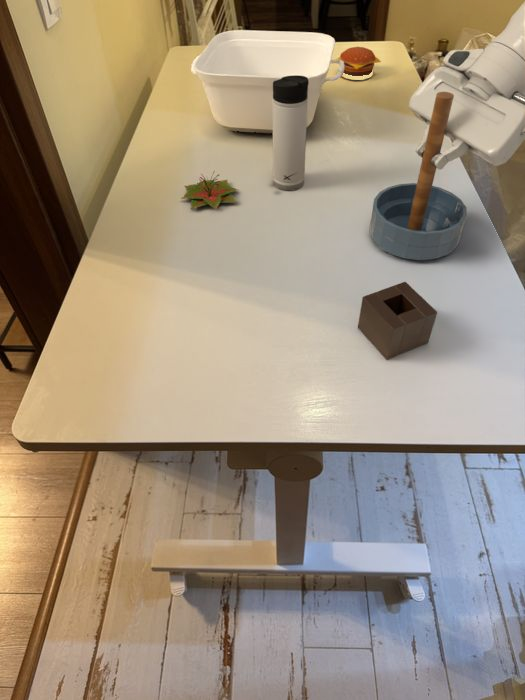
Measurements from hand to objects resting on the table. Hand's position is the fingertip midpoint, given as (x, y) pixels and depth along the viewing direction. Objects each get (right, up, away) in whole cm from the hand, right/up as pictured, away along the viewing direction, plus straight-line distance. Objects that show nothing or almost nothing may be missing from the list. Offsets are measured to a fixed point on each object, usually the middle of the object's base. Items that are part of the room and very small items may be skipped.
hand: (427, 160), depth 80 cm
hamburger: (0, +46, +62) cm, 77 cm away
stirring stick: (+1, -8, +9) cm, 12 cm away
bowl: (+1, -9, +11) cm, 14 cm away
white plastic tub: (-24, +26, +44) cm, 57 cm away
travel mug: (-20, +4, +24) cm, 32 cm away
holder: (-7, -27, -5) cm, 29 cm away
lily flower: (-36, 0, +21) cm, 42 cm away
